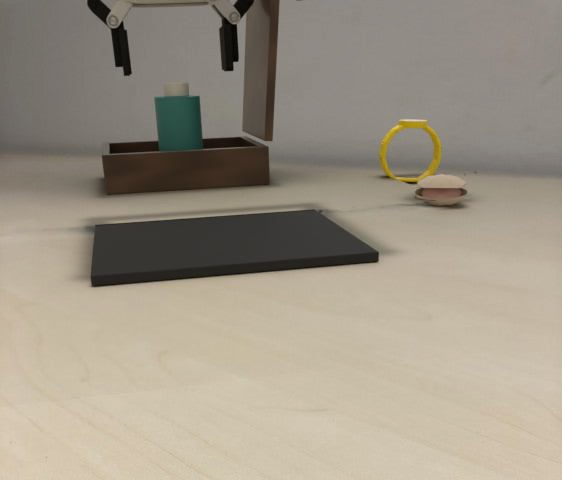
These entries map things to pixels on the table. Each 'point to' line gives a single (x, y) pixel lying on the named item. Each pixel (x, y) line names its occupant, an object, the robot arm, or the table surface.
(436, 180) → the macaroon
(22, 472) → the table surface
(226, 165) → the brown wooden tray
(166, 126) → the bottle
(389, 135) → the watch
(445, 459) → the table surface
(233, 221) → the mat
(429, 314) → the table surface
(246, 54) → the lid
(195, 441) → the table surface
